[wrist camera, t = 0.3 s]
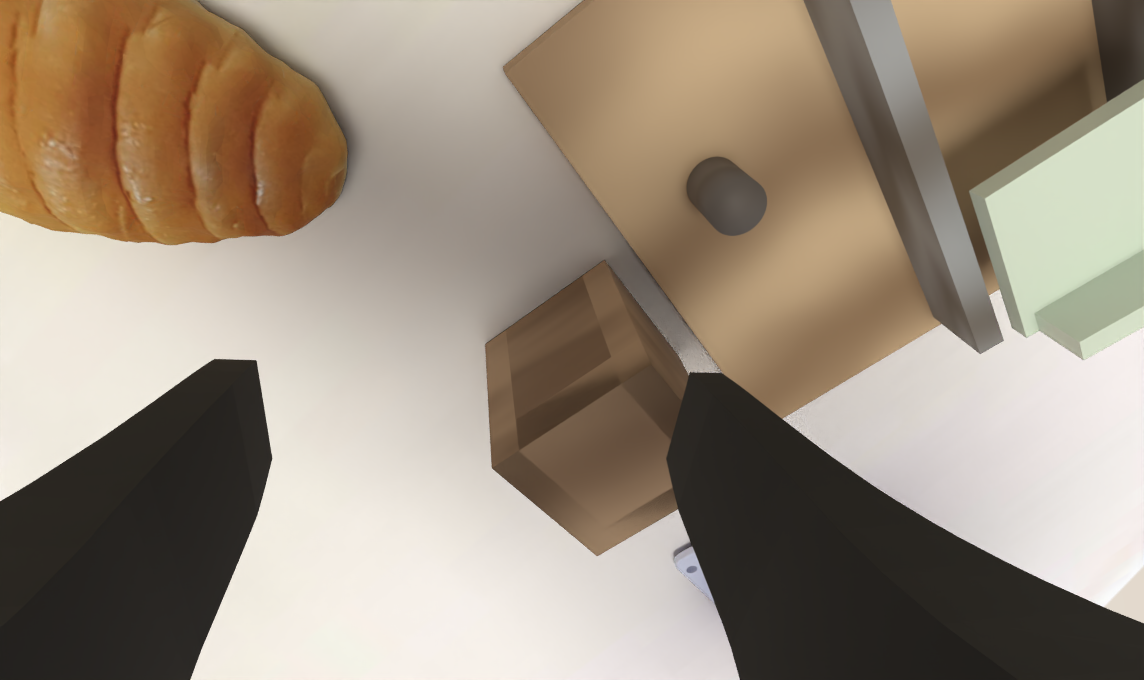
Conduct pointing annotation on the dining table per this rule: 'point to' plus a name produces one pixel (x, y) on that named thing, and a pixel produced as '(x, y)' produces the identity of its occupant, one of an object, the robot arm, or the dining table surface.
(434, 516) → the dining table surface
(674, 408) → the brown block
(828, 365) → the board
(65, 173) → the pastry
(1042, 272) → the cover
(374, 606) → the dining table surface
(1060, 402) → the dining table surface
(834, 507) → the robot arm
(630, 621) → the dining table surface
